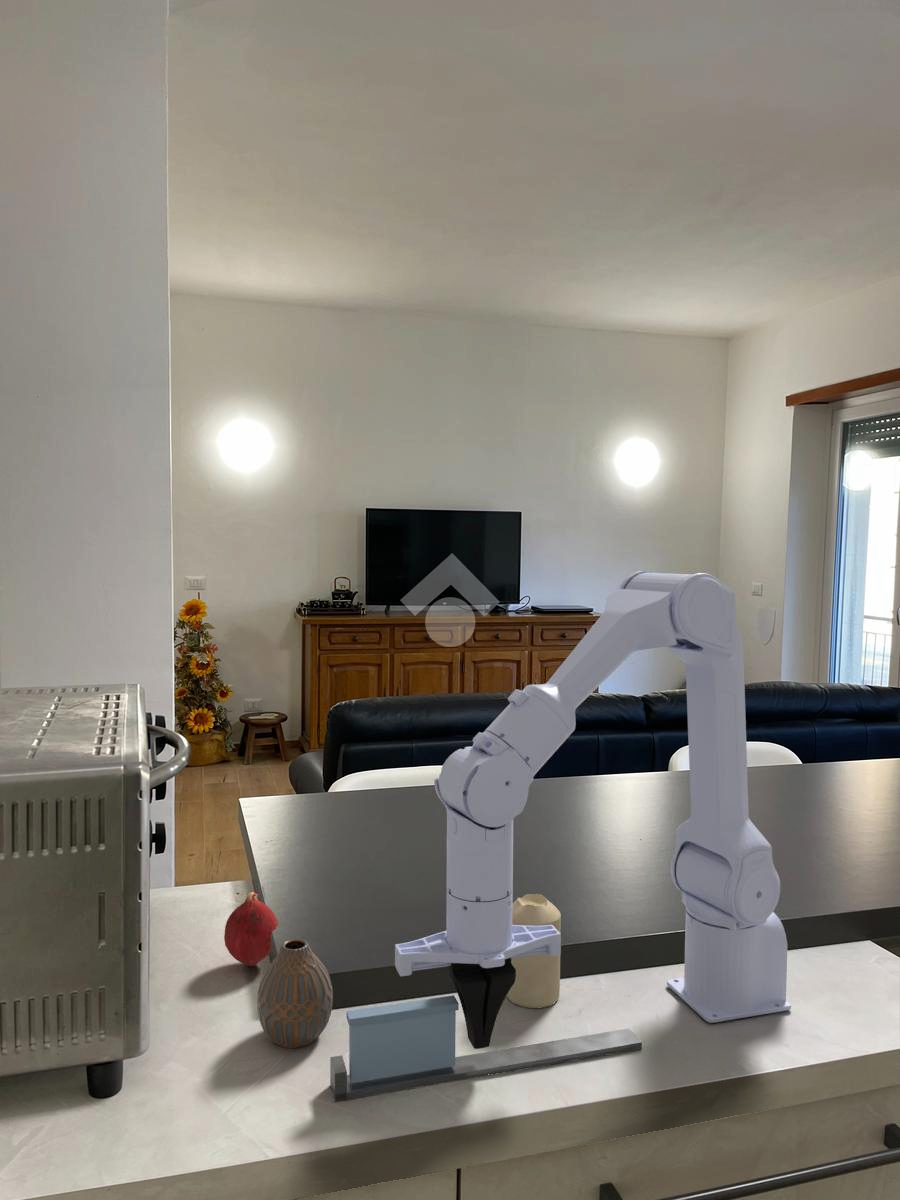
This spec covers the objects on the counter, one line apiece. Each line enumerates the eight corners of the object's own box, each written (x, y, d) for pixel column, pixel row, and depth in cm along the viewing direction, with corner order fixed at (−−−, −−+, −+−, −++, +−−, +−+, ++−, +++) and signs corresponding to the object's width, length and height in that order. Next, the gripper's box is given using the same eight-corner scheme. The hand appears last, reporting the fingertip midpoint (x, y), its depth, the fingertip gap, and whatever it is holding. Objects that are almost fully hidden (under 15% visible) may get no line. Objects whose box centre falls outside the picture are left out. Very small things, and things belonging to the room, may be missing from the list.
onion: (279, 976, 92) (279, 902, 92) (223, 981, 91) (222, 906, 91) (278, 951, 98) (278, 881, 98) (225, 956, 97) (224, 885, 96)
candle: (557, 1011, 86) (558, 912, 85) (501, 1005, 87) (502, 907, 86) (561, 984, 91) (562, 890, 90) (509, 979, 92) (510, 886, 91)
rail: (629, 1034, 82) (629, 1009, 81) (641, 1048, 79) (642, 1023, 79) (330, 1084, 74) (330, 1057, 74) (334, 1101, 71) (334, 1073, 71)
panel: (453, 1057, 76) (453, 995, 76) (458, 1066, 75) (458, 1003, 75) (346, 1075, 74) (346, 1010, 73) (349, 1085, 72) (349, 1019, 72)
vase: (328, 1012, 85) (328, 924, 85) (336, 1052, 79) (336, 957, 78) (256, 1021, 84) (255, 931, 83) (258, 1062, 77) (257, 965, 76)
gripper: (408, 917, 69) (408, 1082, 70) (576, 897, 73) (574, 1054, 74) (389, 884, 76) (389, 1035, 77) (544, 868, 80) (542, 1011, 81)
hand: (478, 1041), depth 76 cm, fingers closed
